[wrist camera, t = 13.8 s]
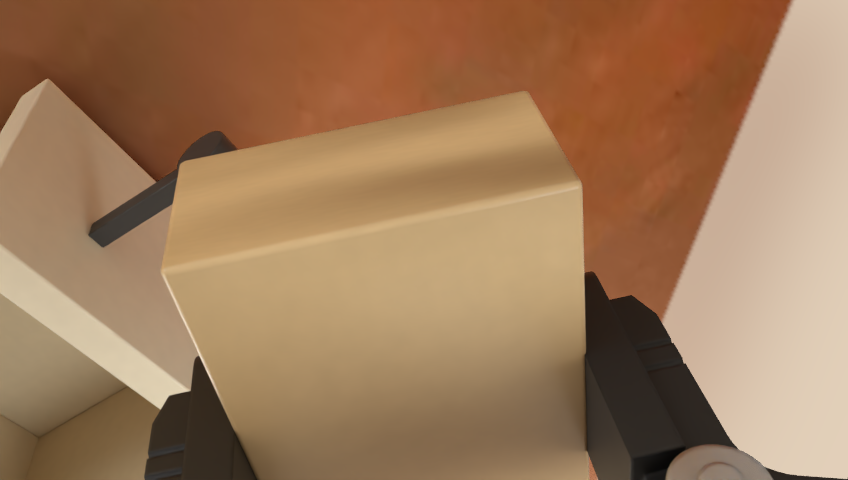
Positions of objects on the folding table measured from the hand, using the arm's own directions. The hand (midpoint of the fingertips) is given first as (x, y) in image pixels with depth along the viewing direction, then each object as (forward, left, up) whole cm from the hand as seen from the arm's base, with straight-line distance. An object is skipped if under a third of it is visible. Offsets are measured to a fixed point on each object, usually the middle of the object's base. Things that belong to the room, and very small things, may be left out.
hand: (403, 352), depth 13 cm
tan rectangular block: (0, 0, -1) cm, 1 cm away
